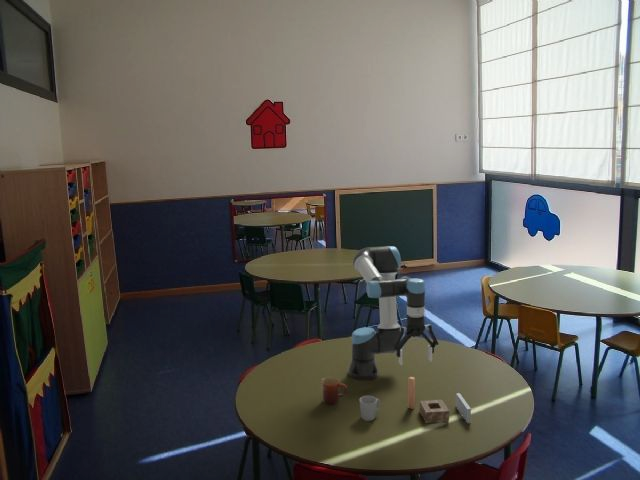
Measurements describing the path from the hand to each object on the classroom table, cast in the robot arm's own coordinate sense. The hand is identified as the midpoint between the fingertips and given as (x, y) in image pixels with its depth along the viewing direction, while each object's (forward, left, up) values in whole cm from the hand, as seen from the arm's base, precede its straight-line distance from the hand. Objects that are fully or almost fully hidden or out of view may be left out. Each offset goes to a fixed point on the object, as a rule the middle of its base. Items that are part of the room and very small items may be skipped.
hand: (415, 362), depth 238 cm
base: (+20, -6, -23) cm, 31 cm away
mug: (-34, +12, -23) cm, 43 cm away
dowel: (-1, +3, -23) cm, 23 cm away
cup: (-20, -3, -23) cm, 31 cm away
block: (+7, -6, -23) cm, 25 cm away
